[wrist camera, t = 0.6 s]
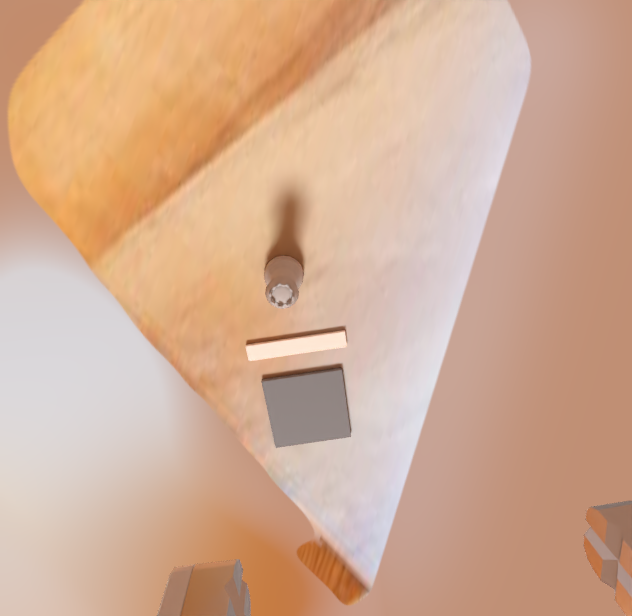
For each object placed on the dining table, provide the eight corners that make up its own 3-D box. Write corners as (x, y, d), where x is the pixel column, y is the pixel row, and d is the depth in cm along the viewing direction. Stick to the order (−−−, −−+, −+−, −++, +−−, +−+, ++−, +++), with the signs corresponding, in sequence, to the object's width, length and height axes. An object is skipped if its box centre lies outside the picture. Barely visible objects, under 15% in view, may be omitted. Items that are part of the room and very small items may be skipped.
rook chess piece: (293, 247, 47) (292, 265, 40) (310, 282, 49) (312, 306, 41) (257, 264, 48) (250, 285, 40) (275, 298, 49) (271, 324, 42)
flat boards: (246, 344, 51) (245, 346, 50) (344, 329, 51) (345, 331, 50) (268, 445, 56) (268, 448, 56) (358, 432, 56) (358, 435, 55)
